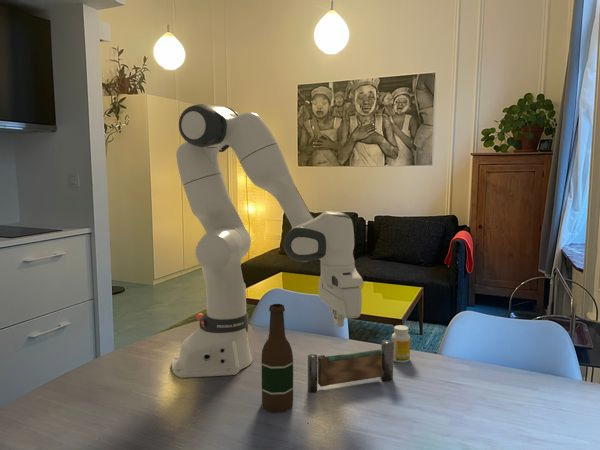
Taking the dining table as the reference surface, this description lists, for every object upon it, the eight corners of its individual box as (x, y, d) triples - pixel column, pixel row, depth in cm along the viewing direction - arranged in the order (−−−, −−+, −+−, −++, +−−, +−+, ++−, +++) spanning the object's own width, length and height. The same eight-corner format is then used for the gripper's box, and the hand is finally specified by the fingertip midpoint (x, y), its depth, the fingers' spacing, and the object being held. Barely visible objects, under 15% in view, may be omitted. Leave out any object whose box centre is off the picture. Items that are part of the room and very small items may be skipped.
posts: (389, 375, 123) (390, 339, 121) (395, 380, 120) (396, 343, 118) (305, 388, 115) (305, 350, 114) (310, 394, 112) (310, 355, 111)
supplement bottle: (387, 358, 134) (387, 326, 132) (398, 354, 137) (399, 323, 136) (401, 364, 129) (402, 332, 128) (413, 359, 133) (414, 327, 132)
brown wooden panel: (377, 373, 121) (378, 347, 120) (381, 377, 119) (382, 350, 118) (317, 383, 115) (318, 355, 115) (320, 386, 114) (320, 358, 113)
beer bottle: (268, 417, 102) (268, 312, 99) (255, 401, 109) (254, 303, 106) (299, 408, 105) (300, 307, 103) (285, 394, 112) (284, 298, 109)
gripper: (312, 267, 128) (313, 315, 129) (342, 283, 109) (342, 339, 110) (333, 265, 130) (334, 312, 131) (366, 280, 111) (366, 336, 112)
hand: (338, 325), depth 121 cm, fingers closed
